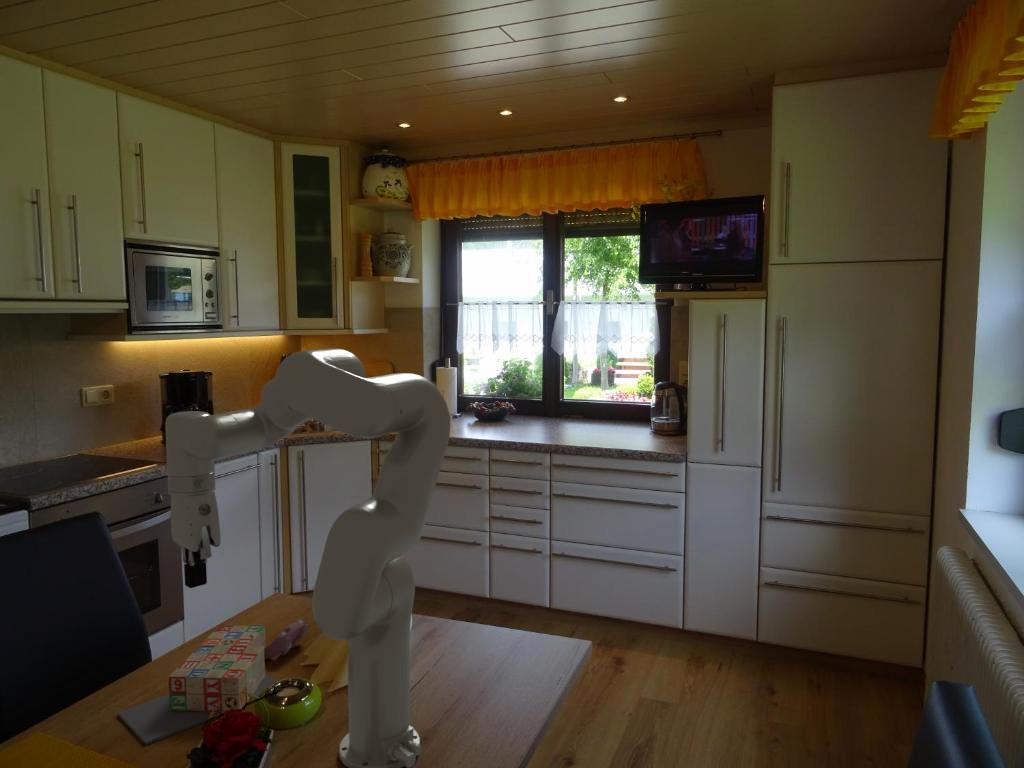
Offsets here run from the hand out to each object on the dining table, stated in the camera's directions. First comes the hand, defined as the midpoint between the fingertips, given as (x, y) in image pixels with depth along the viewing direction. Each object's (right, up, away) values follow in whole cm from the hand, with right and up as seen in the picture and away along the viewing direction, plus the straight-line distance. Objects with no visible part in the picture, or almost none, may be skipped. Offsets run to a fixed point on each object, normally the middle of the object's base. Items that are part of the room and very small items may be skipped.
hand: (196, 584), depth 128 cm
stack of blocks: (-3, -17, +7) cm, 18 cm away
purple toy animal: (+10, -19, +21) cm, 30 cm away
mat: (+1, -21, +1) cm, 21 cm away
